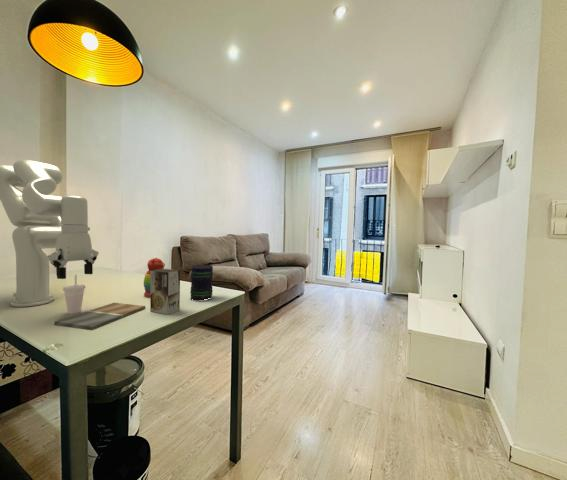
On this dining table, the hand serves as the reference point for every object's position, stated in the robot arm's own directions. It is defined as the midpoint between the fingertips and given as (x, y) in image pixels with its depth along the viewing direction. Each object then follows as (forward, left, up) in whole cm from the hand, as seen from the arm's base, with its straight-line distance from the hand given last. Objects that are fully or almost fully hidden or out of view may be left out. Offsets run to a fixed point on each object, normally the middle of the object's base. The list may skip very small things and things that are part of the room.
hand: (75, 276), depth 91 cm
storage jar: (+33, +31, -14) cm, 48 cm away
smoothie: (-1, 0, -14) cm, 14 cm away
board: (+13, 0, -14) cm, 19 cm away
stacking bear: (+10, +29, -14) cm, 34 cm away
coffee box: (+29, +11, -14) cm, 34 cm away
